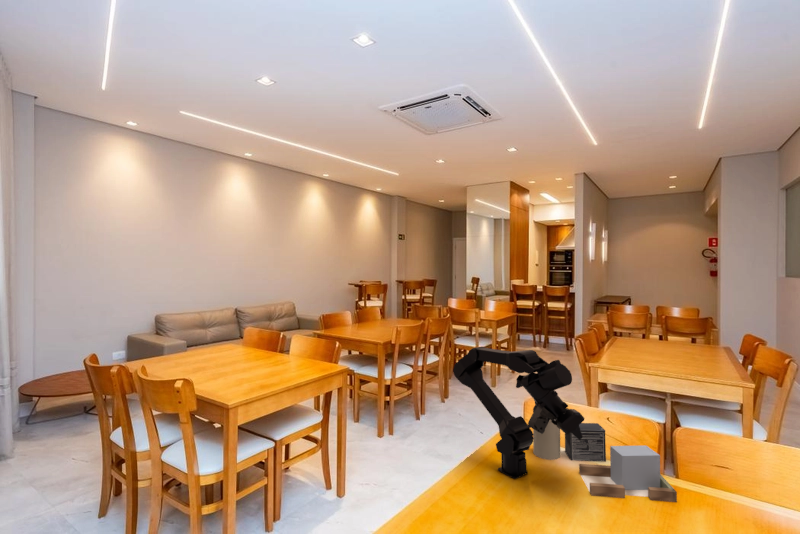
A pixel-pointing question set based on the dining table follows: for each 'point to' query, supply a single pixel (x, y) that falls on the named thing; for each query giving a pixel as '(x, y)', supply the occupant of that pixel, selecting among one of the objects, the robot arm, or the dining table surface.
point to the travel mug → (547, 442)
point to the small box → (587, 444)
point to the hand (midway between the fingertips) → (580, 438)
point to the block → (635, 467)
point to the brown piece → (603, 485)
